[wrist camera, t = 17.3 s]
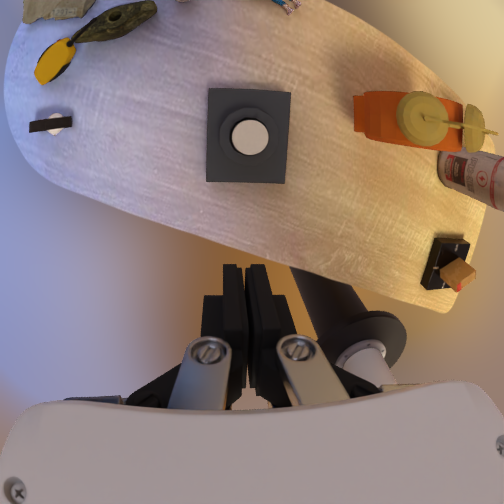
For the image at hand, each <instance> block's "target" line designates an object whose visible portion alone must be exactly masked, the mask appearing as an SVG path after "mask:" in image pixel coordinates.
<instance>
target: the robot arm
mask: <svg viewBox="0 0 504 504" xmlns="http://www.w3.org/2000/svg"><path fill="white" fill-rule="evenodd" d="M201 326H202V327H201V337H200V338H197V339H195V340H193V341H192V342H191V343H190V344H189V345H188V347H187V348H186V351H185V354H184V357H183V360H182V363H180V364H179V365H177V366H176V367H174V368H172V369H171V370H169V371H168V372H166V373H165V374H163V375H161V376H160V377H158V378H156V379H155V380H153V381H152V382H150V383H148V384H147V385H145V386H143V387H142V388H140V389H138V390H137V391H135V392H134V393H132V394H131V395H130V396H129V397H128V398H121V396H120V395H118V396H101V397H72V398H66V399H64V400H57V401H51V402H44V403H40V404H37V405H34V406H32V407H30V408H28V409H26V410H25V411H24V412H23V413H22V414H21V415H20V416H19V418H18V419H17V421H16V422H15V424H14V425H13V427H12V429H11V431H10V433H9V435H8V437H7V440H6V442H5V444H4V447H3V450H2V452H1V455H0V504H504V417H503V416H502V414H501V412H500V411H499V410H498V408H497V407H496V405H495V404H494V403H493V401H492V400H491V399H490V397H489V396H488V395H487V394H486V393H485V392H484V391H483V390H482V389H481V388H480V387H479V386H477V385H476V384H473V383H471V382H467V381H460V380H443V381H434V382H428V383H422V384H397V382H396V380H395V378H394V376H393V374H392V373H391V371H390V369H389V367H388V365H387V364H386V362H385V360H384V357H385V355H386V348H385V346H384V345H383V343H382V342H380V341H379V340H374V339H369V340H364V341H360V342H358V343H356V344H354V345H352V346H350V347H349V348H347V349H346V350H345V351H344V352H343V353H342V354H341V355H340V356H339V357H338V359H337V361H336V363H335V365H334V364H332V363H330V362H329V361H328V360H327V358H326V356H325V355H324V353H323V351H322V350H321V348H320V346H319V345H318V344H317V342H316V341H315V340H313V339H311V338H310V337H308V336H305V335H299V334H297V332H296V329H295V326H294V322H293V319H292V316H291V313H290V310H289V307H288V304H287V300H286V297H285V295H272V291H271V288H270V284H269V280H268V276H267V272H266V268H265V265H264V264H251V266H250V268H246V270H245V291H244V284H243V276H242V268H237V266H236V264H223V295H216V296H215V295H205V296H204V302H203V313H202V325H201ZM247 366H248V375H249V384H250V388H255V390H256V396H261V397H263V398H264V399H266V400H267V401H268V408H269V409H254V410H232V403H234V402H235V401H236V400H237V399H239V398H240V397H241V395H242V388H246V375H247Z"/></svg>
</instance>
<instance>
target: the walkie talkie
mask: <svg viewBox="0 0 504 504" xmlns="http://www.w3.org/2000/svg"><path fill="white" fill-rule="evenodd" d="M96 20H97V18H96V17H95V18H93V19H92V20H91V21H90V22H89V23H88V24H87V25H86V26H85V27H84V28H83V29H82V30H81V31H80V32H79V33H78V34H77V35H76V36H75V37H74V38H73V39H72V40H70V39H69V38H64V39H61V40H58V41H57V42H56V43H54V44H52V45H51V46H49V47H48V48H47V49H46V50H45V51H44V52H43V54H42V55H41V57H40V58H39V60H38V62H37V63H38V64H37V66H36V68H35V71H34V74H35V77H36V79H37V80H38V82H39V83H40V84H41V85H44V84H46V83H48V82H51V81H52V80H54V79H56V78H57V77H58V76H60V75H61V74H62V73H63V72H64V71H65V70H66V68H67V67H68V66H69V64H70V63H71V59H72V58H73V56H74V54H75V52H76V49H75V46H74V42H75V41H76V40H77V39H78V38H79V37H80V36H81V35H82V34H83V33H84V32H85V31H86V30H87V29H88V28H89V27H90V26H91V25H92V24H93V23H94V22H95V21H96Z"/></svg>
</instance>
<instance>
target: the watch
mask: <svg viewBox="0 0 504 504" xmlns="http://www.w3.org/2000/svg"><path fill="white" fill-rule="evenodd" d="M68 127H72V118H71V116H67V117H63V116H62V115H61V114H59V113H54V114H52V115H51V116H50V117H49V118H48V119H44V120H38V121H32V122H30V125H29V133H31V132H38V131H46V130H48V132H49V133H51V134H54V136H56V134H57V133H59V132H60V131H61V130H62V129H63V128H68Z"/></svg>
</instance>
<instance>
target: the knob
mask: <svg viewBox="0 0 504 504" xmlns="http://www.w3.org/2000/svg"><path fill="white" fill-rule="evenodd" d="M440 278H441V279H443V280H444V281H445V282H446V283H447V284H448V285H449V286H450V287H451V288H452V289H453V290H454V291H455V292H458V291H460V290H461V289H462V288H463V287H465V286H466V285H467V284H469V283H470V282H472V281H473V280H474V279H476V270H475V269H474V268H472V267H471V266H470V265H469V264H467V263H466V262H465V261H464V260H462V259H461V258H460V257H459V258H457V259H456V260H454V261H453V262H451V263H449V264H448V265H446V266H445V267H443V268H442V269H440Z"/></svg>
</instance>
